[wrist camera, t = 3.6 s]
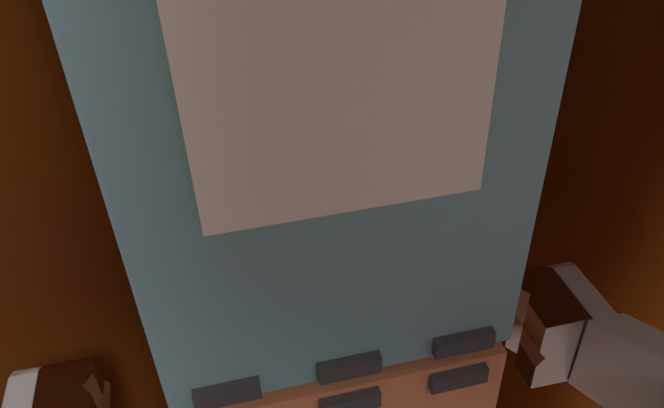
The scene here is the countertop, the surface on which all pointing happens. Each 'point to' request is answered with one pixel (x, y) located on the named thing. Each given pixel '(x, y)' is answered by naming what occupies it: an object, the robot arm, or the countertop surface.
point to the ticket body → (316, 176)
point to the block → (404, 386)
